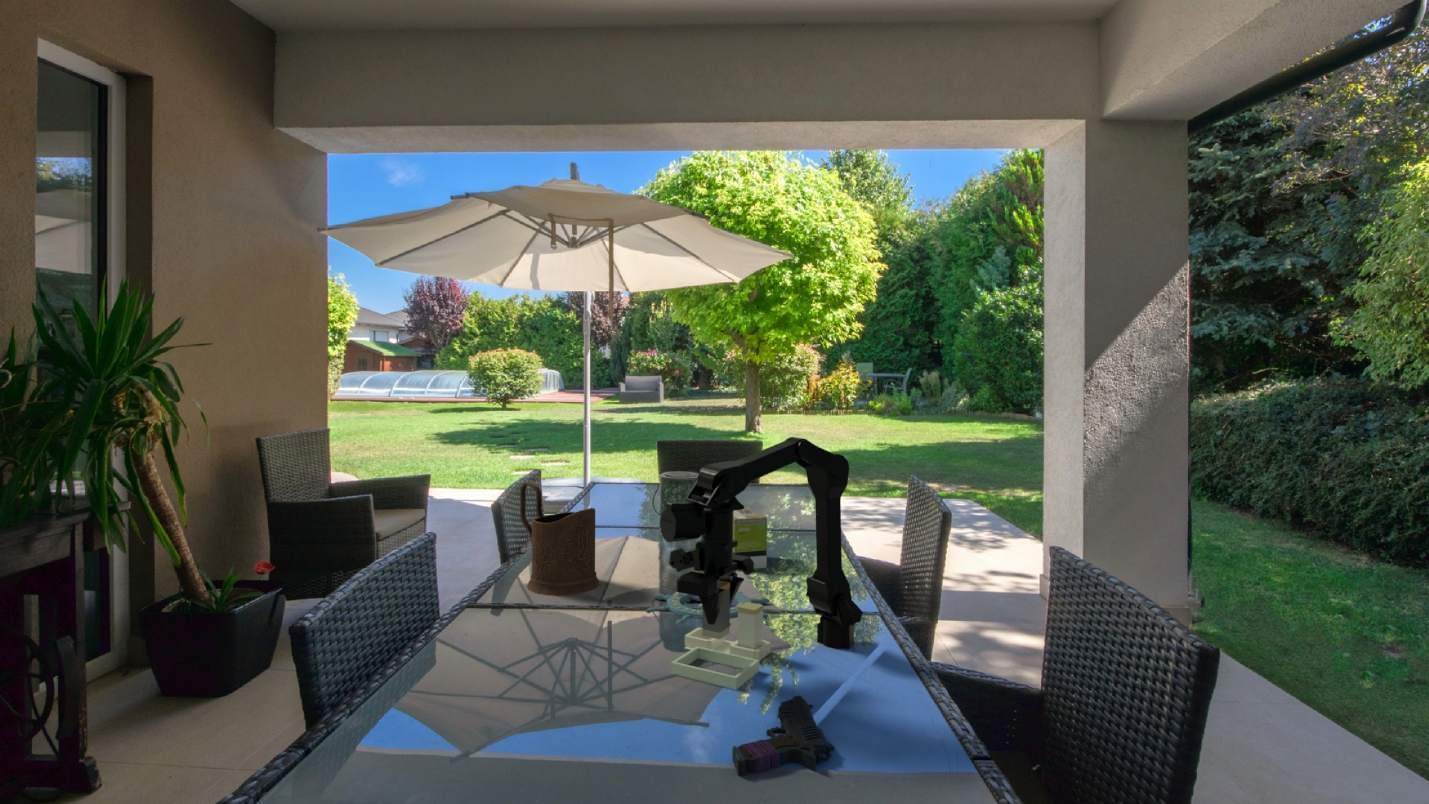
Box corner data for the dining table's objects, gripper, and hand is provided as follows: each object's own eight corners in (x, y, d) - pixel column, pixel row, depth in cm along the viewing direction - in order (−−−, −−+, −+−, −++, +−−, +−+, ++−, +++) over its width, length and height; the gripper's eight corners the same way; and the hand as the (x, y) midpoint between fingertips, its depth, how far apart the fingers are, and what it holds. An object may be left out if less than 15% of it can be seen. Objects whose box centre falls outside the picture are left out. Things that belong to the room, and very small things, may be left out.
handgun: (722, 714, 125) (812, 710, 126) (735, 780, 105) (842, 775, 106) (722, 697, 125) (812, 693, 126) (735, 760, 105) (842, 755, 106)
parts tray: (759, 676, 138) (759, 660, 138) (735, 695, 130) (736, 678, 130) (696, 661, 145) (697, 646, 145) (670, 678, 137) (671, 662, 137)
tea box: (716, 557, 223) (717, 507, 222) (749, 555, 226) (750, 506, 225) (733, 571, 208) (734, 517, 207) (767, 568, 211) (768, 516, 210)
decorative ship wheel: (793, 589, 182) (739, 627, 156) (793, 603, 182) (739, 643, 156) (685, 572, 196) (618, 604, 170) (685, 584, 196) (618, 618, 170)
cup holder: (565, 600, 181) (566, 496, 180) (495, 584, 193) (495, 486, 192) (615, 582, 197) (615, 486, 195) (546, 567, 209) (547, 477, 208)
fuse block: (773, 655, 149) (773, 640, 148) (755, 669, 142) (755, 653, 141) (701, 639, 156) (701, 625, 156) (681, 652, 149) (681, 637, 149)
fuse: (762, 652, 147) (763, 604, 147) (754, 658, 144) (754, 610, 144) (745, 649, 149) (746, 601, 148) (737, 655, 146) (738, 606, 145)
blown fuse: (729, 633, 138) (730, 582, 138) (719, 639, 135) (720, 587, 134) (712, 629, 140) (712, 579, 139) (702, 635, 137) (702, 584, 136)
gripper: (704, 521, 148) (703, 599, 149) (650, 540, 132) (650, 628, 133) (755, 527, 143) (754, 609, 144) (706, 548, 127) (705, 640, 128)
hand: (716, 620), depth 137 cm, fingers closed on blown fuse, 4 cm apart
